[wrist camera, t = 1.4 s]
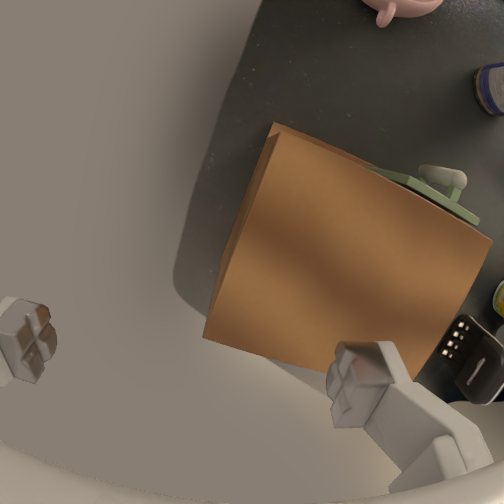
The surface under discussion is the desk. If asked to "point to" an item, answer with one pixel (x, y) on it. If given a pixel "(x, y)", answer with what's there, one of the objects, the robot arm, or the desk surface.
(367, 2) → the mug
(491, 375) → the battery charger
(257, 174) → the cupboard
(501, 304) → the supplement bottle
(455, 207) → the sliding door
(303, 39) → the desk surface
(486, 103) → the pill bottle
